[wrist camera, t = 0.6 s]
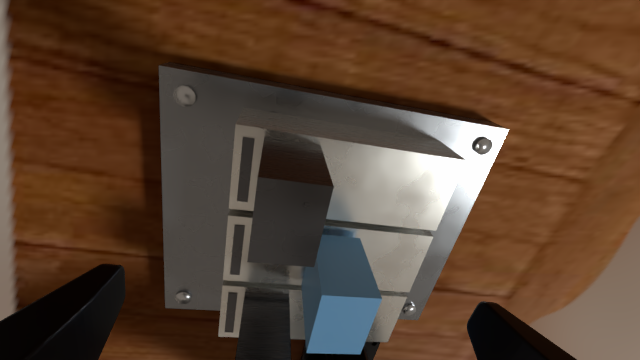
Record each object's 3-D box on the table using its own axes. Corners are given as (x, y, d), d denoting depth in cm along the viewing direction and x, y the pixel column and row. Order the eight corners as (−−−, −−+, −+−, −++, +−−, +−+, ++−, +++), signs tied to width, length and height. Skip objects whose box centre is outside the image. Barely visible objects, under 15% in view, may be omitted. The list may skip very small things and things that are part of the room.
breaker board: (410, 304, 26) (464, 420, 18) (172, 291, 22) (115, 426, 15) (493, 122, 19) (631, 185, 11) (169, 61, 16) (62, 95, 8)
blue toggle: (344, 287, 17) (360, 354, 14) (301, 284, 17) (306, 353, 13) (359, 237, 16) (381, 298, 12) (312, 233, 15) (322, 295, 12)
